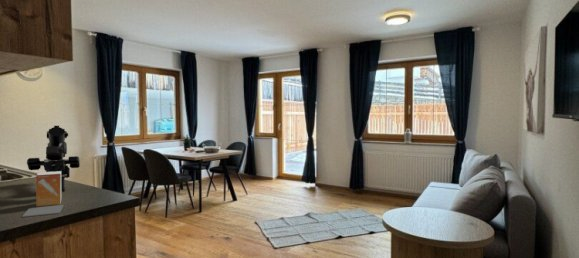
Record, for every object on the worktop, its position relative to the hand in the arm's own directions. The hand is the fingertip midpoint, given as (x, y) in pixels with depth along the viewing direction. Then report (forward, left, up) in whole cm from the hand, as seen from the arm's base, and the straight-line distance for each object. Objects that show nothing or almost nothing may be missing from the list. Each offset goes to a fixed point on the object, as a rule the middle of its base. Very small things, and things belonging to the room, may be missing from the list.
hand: (52, 178), depth 138 cm
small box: (+7, 0, -9) cm, 12 cm away
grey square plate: (+18, 0, -9) cm, 21 cm away
